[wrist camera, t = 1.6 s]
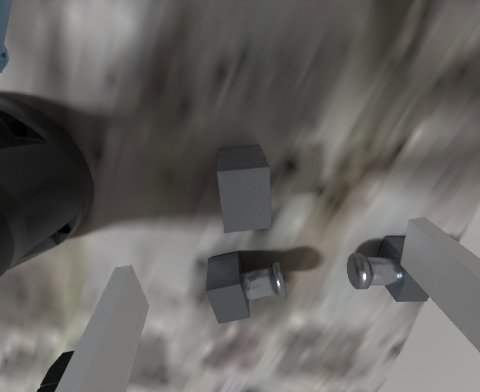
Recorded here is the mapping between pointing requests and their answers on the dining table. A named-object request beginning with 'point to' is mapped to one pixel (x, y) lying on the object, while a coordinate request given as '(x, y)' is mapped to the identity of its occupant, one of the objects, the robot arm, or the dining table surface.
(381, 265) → the shaft
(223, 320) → the shaft
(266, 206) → the block
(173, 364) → the dining table surface
